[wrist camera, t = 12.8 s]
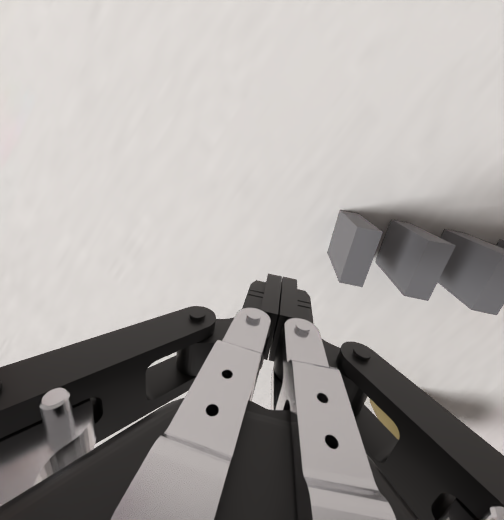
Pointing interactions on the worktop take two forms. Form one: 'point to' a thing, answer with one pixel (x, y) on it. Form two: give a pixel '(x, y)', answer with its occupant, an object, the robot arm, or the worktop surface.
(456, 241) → the domino
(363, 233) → the domino
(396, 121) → the worktop surface
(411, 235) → the domino
